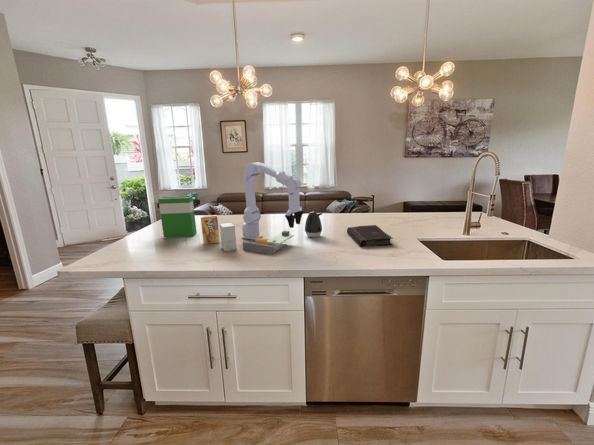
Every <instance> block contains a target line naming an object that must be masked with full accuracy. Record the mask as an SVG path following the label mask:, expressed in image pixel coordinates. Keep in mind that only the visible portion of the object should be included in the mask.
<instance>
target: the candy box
mask: <svg viewBox="0 0 594 445" xmlns="http://www.w3.org/2000/svg"><path fill="white" fill-rule="evenodd" d="M200 224H201V233H202V242H203V245H209V244H215V243H221V242H220V240H221V239H220V233H219V232H220V228H219V221H218V216H217V214H213V215H203V216H200Z"/></svg>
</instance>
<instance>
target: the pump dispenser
mask: <svg viewBox="0 0 594 445" xmlns="http://www.w3.org/2000/svg"><path fill="white" fill-rule="evenodd" d="M321 215H323V212H319V213H318V212H317V211H313V210H312V211H310V212H309V213H308V215H307V217H306V220H305V224H304V232H305V234H306V236H308V237H309V238H318V237H320V236H321V233H322V232H323V226H322V225H323V224H322V221H321V218H320V216H321Z"/></svg>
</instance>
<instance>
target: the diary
mask: <svg viewBox="0 0 594 445" xmlns="http://www.w3.org/2000/svg"><path fill="white" fill-rule="evenodd" d="M346 233H347V235H348V236H349V237H351V239H352V240H353V241H354V242H355V243H356V244H357V245H358V247H360V248H362V246H363V247H375V246H376V247H387V246H389V247H390V246H393V243H391V239H393V237H392V236H390V235H389V234H388V233H387V232H385V231H384V230H383V229H382V228H381V227H379V226H378V225H376V224H373V225H371V224H370V225H359V226H350V227H347V229H346Z"/></svg>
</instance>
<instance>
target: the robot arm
mask: <svg viewBox="0 0 594 445" xmlns="http://www.w3.org/2000/svg"><path fill="white" fill-rule="evenodd" d="M262 173H264V174H266V175H268V176H271V177H273V178H275V181H276V182H278V183H279V184H281V185H282V186H286V188H287V190H288V210H287V211H286V213H285V214H284V217H285V219H286V220H287V223H288V227H289V228H292V229H293V228H294V226H295V224H296V225H301V220H302V216H303V215H304V213H305V212H304V210H303V206H300V204H301V203H300V201H301V200H300V187H301V186H302V182H301V180H300V178H299V177H293V175H289V174H287V173H286V171H277V170H275V169H273V168H272V167H270V166H268V164H266V163H263V162H261V161H257V162H248V163H247V164H246V165H245V166H244V173H243V184H244V185H243V187H244V193H245V195H244V196H245V203H246V207H245V209H244V211H243V221H244V222H243V224H242V228H241V229H242V238H243V239H248V240H253V241H255V239H256V238H262V237H263V235H262V234H260V220H261V218H262V215H261V213H260V209H259V207H258V206H257V202H256V193H255V180H254V179H255V178H256V177H258V175H260V174H262Z"/></svg>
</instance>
